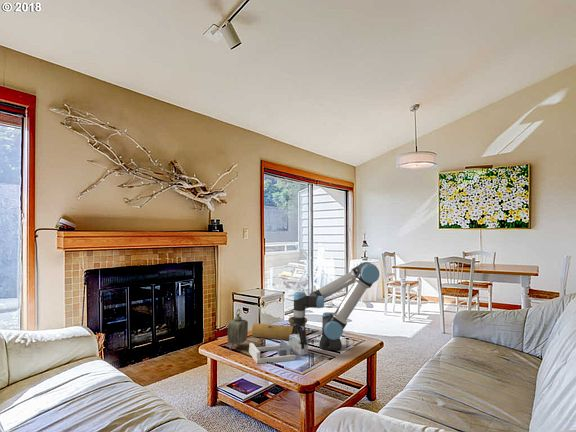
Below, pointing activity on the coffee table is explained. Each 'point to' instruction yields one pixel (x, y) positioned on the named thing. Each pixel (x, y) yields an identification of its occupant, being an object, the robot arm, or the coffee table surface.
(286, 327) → the log
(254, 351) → the open rectangular frame
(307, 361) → the coffee table surface
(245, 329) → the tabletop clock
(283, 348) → the pusher
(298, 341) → the light bulb box
